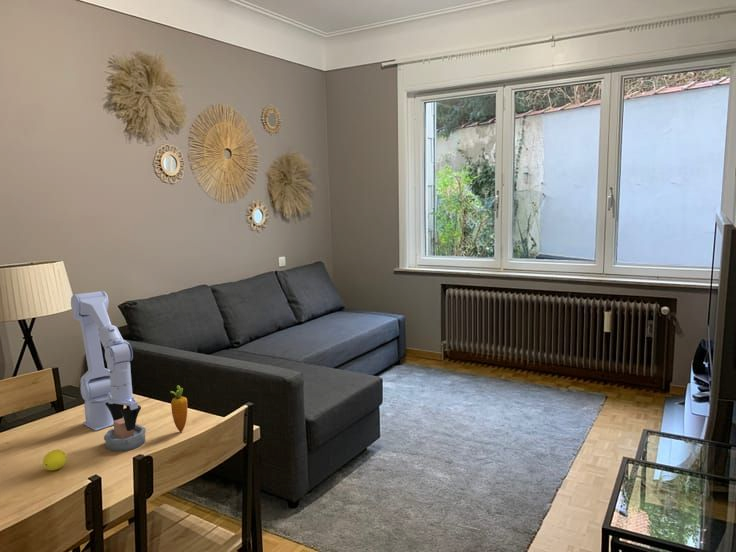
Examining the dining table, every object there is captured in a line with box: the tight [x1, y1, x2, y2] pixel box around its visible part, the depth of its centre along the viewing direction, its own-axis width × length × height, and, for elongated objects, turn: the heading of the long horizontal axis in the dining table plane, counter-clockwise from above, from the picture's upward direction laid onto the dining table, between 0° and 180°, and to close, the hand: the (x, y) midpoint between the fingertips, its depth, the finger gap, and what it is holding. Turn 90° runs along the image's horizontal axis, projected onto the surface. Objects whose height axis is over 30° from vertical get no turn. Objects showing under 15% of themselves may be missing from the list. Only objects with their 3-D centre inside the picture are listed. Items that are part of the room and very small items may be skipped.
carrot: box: [169, 385, 188, 433], centre depth 172 cm, size 5×5×15 cm
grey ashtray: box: [103, 423, 147, 453], centre depth 166 cm, size 11×11×4 cm
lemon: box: [42, 449, 67, 471], centre depth 150 cm, size 7×5×5 cm
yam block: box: [113, 418, 134, 439], centre depth 165 cm, size 4×4×5 cm
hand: (124, 426), depth 165 cm, fingers open, 7 cm apart
